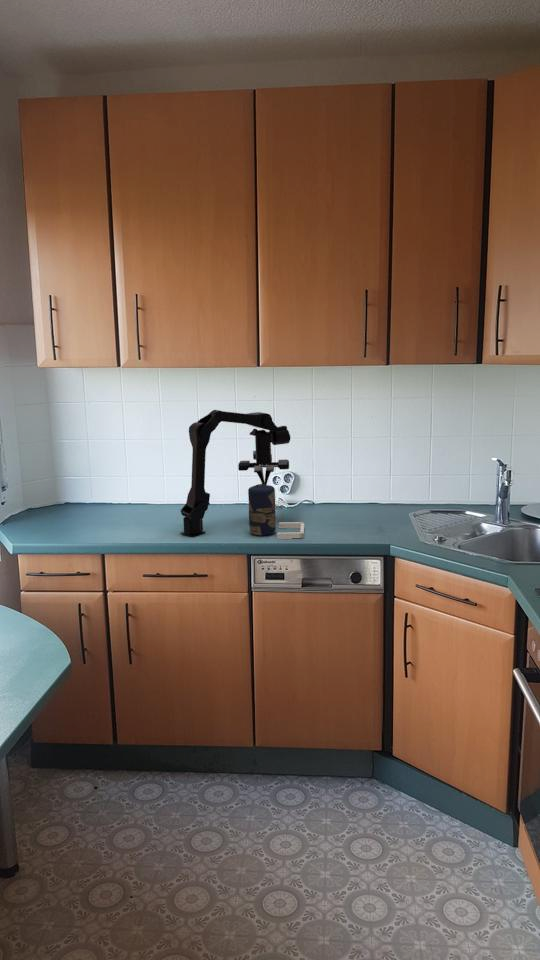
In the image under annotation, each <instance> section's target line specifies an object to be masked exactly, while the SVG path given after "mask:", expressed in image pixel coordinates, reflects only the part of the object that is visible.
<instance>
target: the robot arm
mask: <svg viewBox="0 0 540 960" xmlns="http://www.w3.org/2000/svg"><path fill="white" fill-rule="evenodd" d="M221 422H224V423H234V424H243V425H244V424H245V425H247V426H251V427H254V428H253V429H252V430H251V431H250V432H249V435H250V436H253V437H254V438H255V439H254V441H255V443H254V444H255V450H252V458H253V459H252V460H255V462H250V460H240V461H239V462H238V467H237V468H238V471H248V470H249V469H250V468H251V469H253V473H256V474H257V476H258V477H259V479H260V482H261V484H264V485H268V481H269V478H270V475H271V473H273V472H274V471H275V468H278V469H279V470H289V469H290V460H289V459H278V460H277V461H273V454H272V445H273V446H278V445H286V444H289V443H290V442H291V433H290V431H289V430H288V426H287V425H280V426H277V425H276V423H275V422H274V421H273V417H272V416H271V414H270V413H266V412H260V411H257V412H249V413H248V412H247V413H244V412H243V413H241V412H235V411H233V412H232V411H225V410H224V411H223V410H220V409H219V410H218V409H213V410H211V411H210V412H209V413H208V414H206V415H205V416H203V417H202V418H200V419H198V420H197V421H195V422H193V423H191V425H189V427H188V435H189V436H188V437H189V441H190V444H191V447H192V454H191V455H192V457H191V460H192V462H191V486H190V489H189V490H188V491H189V492H188V493H187V497H186V503H185V504H184V505H183V507H181V509H180V514H181V515H182V516H183V518H182V519H183V520H182V521H183V532H180V534H181V535H183V536H186V537H187V536H188V537H192V538H193V537H197V536H200V535H204V534H206V533H207V532H206V530H205V531H204V525H203V524H204V523H203V521H204V520H203V519H204V518H205V514H206V512H207V511H208V509H209V506H211V503H210V498H211V494H210V493H208V492H206V489H205V482H206V481H205V479H206V453H207V452H206V450H207V447H208V445H209V442H210V439H211V435H212V433H213V432H214V431H215V430H216V429H217V428H218V426H219V424H220V423H221ZM257 428H259V429H260V430H259V429H257ZM264 468H266V469H265V475H264V470H263V469H264Z"/></svg>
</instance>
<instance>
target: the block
mask: <svg viewBox="0 0 540 960" xmlns="http://www.w3.org/2000/svg"><path fill="white" fill-rule="evenodd" d="M279 528H287V529H300V530H299V531H300V532H299V531H297V532H290V531H289V532H277V533H276V538H277V539H276V540H293V539H292V538H304V539H305V521H303V522H301V521H299V522H298V521H294V522H292V521H291V522H290V521H289V522H288V521H287V522H286V521H285V522H278V529H279Z"/></svg>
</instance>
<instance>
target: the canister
mask: <svg viewBox="0 0 540 960" xmlns="http://www.w3.org/2000/svg"><path fill="white" fill-rule="evenodd" d="M247 493H248V522H249V523H248V524H249V532H250V533H251V534H252V535H256V536H268V535H271V534H274V533H275V532H276V531H277V524H276V523H277V522H276V519H277V518H276V489H275V487H274V486H272V485H268V484H267V485H264V484H262V483H259V484H258V483H257V484H255V485H252V486H250V487H249V488H248V490H247Z"/></svg>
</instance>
